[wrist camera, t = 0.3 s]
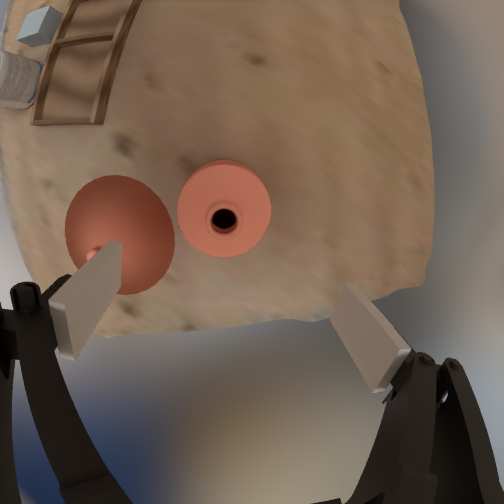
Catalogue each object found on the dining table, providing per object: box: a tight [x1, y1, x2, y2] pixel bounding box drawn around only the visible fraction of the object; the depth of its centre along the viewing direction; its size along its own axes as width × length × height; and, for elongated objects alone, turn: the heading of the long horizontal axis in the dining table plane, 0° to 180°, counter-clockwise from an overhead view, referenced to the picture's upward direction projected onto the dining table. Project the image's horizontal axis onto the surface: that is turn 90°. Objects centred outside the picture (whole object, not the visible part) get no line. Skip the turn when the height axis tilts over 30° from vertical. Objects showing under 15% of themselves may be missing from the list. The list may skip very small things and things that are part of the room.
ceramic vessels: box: [65, 159, 271, 295], centre depth 32 cm, size 35×21×19 cm, turn 110°
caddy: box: [29, 0, 142, 126], centre depth 27 cm, size 26×14×3 cm, turn 169°
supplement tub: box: [0, 50, 43, 110], centre depth 21 cm, size 10×10×15 cm
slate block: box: [16, 6, 63, 47], centre depth 21 cm, size 6×6×6 cm
